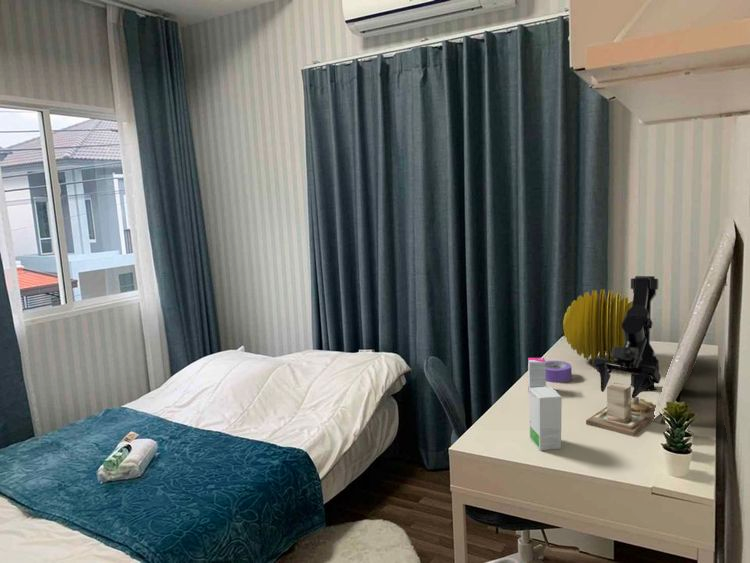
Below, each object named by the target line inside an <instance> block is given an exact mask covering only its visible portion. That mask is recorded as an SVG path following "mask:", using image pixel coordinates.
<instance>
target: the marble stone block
mask: <svg viewBox="0 0 750 563" xmlns="http://www.w3.org/2000/svg"><path fill="white" fill-rule="evenodd" d="M631 398H632V386H631V385H628V384H622V383H618V382H613V383H611V384H609V385H608V386H606V407H607V419H608V420H611V421H615V422H619V423H627V422H630V421H632V414H631Z"/></svg>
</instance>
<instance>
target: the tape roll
mask: <svg viewBox="0 0 750 563" xmlns="http://www.w3.org/2000/svg"><path fill="white" fill-rule="evenodd" d="M545 362H546V382H548V383H555V382H556V383H558V382H559V383H566V382H569V381H571V380H572V379H571V378H573V377H572V376H573V375H572V371H573V370H572V365H571V363H569V362H566V361H562V360H545ZM565 381H566V382H565Z"/></svg>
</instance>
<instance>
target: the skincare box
mask: <svg viewBox="0 0 750 563" xmlns="http://www.w3.org/2000/svg"><path fill="white" fill-rule="evenodd" d="M529 389H530V393H529V440H530V441H531V442H532V443H533V444H534V445H535V446H536V448H537V449H538V450H539V451H540V452H543V451H551V450H560V449H562V404H563V403H562V401H563V400H562V398H563V397H562V396H561V395H560V394H559V393H558V392H557V390H555V389H553V388H552V387H551V385H549V386H547V385H546V387H536V388H529ZM529 389H528V390H529Z"/></svg>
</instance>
